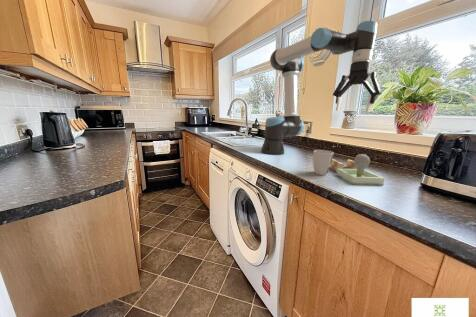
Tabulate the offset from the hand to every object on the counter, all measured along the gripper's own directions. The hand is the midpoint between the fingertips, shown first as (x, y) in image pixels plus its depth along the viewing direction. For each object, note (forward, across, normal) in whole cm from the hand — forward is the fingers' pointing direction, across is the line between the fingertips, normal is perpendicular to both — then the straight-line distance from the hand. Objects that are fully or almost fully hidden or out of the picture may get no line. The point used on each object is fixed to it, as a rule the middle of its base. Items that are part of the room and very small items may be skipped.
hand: (352, 111), depth 92 cm
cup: (+28, 0, -19) cm, 34 cm away
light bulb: (+27, +14, -13) cm, 33 cm away
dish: (+28, +14, -13) cm, 33 cm away
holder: (+28, +4, -5) cm, 28 cm away
